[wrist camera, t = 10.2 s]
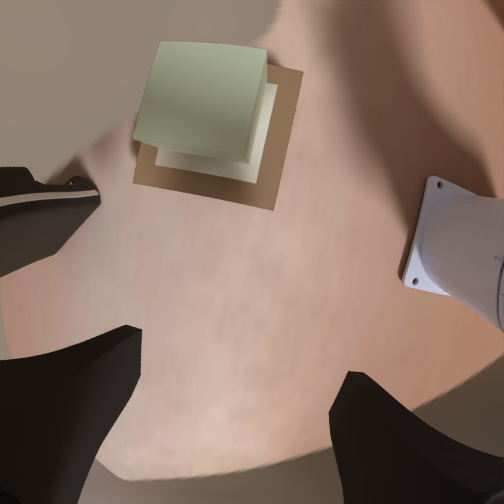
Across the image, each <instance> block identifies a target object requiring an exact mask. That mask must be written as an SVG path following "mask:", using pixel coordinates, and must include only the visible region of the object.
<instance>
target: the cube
mask: <svg viewBox="0 0 504 504" xmlns="http://www.w3.org/2000/svg"><path fill="white" fill-rule="evenodd" d="M266 87H267V50H265V49H259V48H252V47H245V46H237V45H228V44H218V43H205V42H184V41H160V44H159V46H158V49H157V53H156V55H155V58H154V61H153V65H152V68H151V71H150V74H149V77H148V81H147V84H146V88H145V91H144V95H143V99H142V102H141V106H140V110H139V114H138V118H137V122H136V126H135V131H134V135H133V139H134V140H137V141H140V142H143V143H146V144H149V145H152V146H155V147H158V148H161V149H164V150H167V151H172V152H179V153H186V154H193V155H199V156H205V157H211V158H217V159H223V160H228V161H234V162H239V163H244V164H250V160H251V155H252V150H253V146H254V141H255V137H256V132H257V127H258V123H259V118H260V114H261V109H262V105H263V101H264V96H265V92H266Z"/></svg>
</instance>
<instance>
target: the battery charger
mask: <svg viewBox="0 0 504 504" xmlns="http://www.w3.org/2000/svg"><path fill="white" fill-rule="evenodd" d="M100 203H101V200H100V198H99V194H98V193H97V191H96V190H94V189H93V187H92V185H91V184H90V183H89V182H88V181H87V180H86V179H85V178H83V177H80V176H75V177H72V178H71V179H70V180H69V181H68V182H67V183H66V184H65V185H45V184H42V183H40V182H38V181H35V180H34V178H33V176H32V174H31V173H30V171H29V170H28V169H27V168H25V167H0V277H2V276H5V275H7V274H9V273H11V272H13V271H16V270H18V269H20V268H22V267H25V266H27V265H29V264H31V263H34V262H36V261H39V260H41V259H44V258H46V257H49V256H52V255H54V254H56V253H57V252H58V251H59V250H60V248H61V247H62V246H63V245H64V244H65V243H66V242H67V240H68V239H69V238H70V237H71V236H72V235H73V234H74V233H75V231H76V230H77V229H78V228H79V227H80V226H81V225H82V224H83V223H84V221H85V220H86V219H87V218H88V217H89V216H90V215H91V214H92V213H93V212H94V211H95V210H96V209H97V207H98V206H99V205H100Z"/></svg>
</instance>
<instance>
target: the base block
mask: <svg viewBox="0 0 504 504" xmlns="http://www.w3.org/2000/svg"><path fill="white" fill-rule="evenodd" d="M302 77H303V71H298V70H294V69H290V68H285V67H280V66H275V65H270V64H267V87H266V92H265V96H264V101H263V105H262V109H261V114H260V118H259V123H258V127H257V132H256V137H255V141H254V146H253V150H252V155H251V160H250V164H244V163H239V162H234V161H228V160H223V159H217V158H211V157H205V156H199V155H193V154H186V153H179V152H172V151H167V150H164V149H161V148H158V147H155V146H152V145H149V144H146V143H143V142H141V143H140V148H139V153H138V158H137V163H136V168H135V173H134V179H133V183H134V184H140V185H146V186H152V187H157V188H163V189H168V190H174V191H179V192H185V193H190V194H195V195H200V196H206V197H211V198H216V199H221V200H225V201H230V202H235V203H240V204H245V205H249V206H254V207H259V208H263V209H268V210H272V211H274V206H275V202H276V197H277V193H278V188H279V184H280V179H281V175H282V170H283V166H284V161H285V157H286V152H287V147H288V143H289V138H290V134H291V129H292V124H293V120H294V115H295V110H296V106H297V101H298V96H299V91H300V87H301V82H302Z"/></svg>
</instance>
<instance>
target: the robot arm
mask: <svg viewBox="0 0 504 504" xmlns="http://www.w3.org/2000/svg"><path fill="white" fill-rule="evenodd" d="M438 182H439V183H440V187H439V188H438V186H437V183H438ZM414 278H416V281H415V283H412V281H413V279H414ZM402 283H403V284H404V285H405V286H407V287H411V288H415V289H420V290H424V291H429V292H434V293H438V294H443V295H447V296H452V297H454V298H455V299H457V300H458V301H460V302H461V303H463V304H464V305H465V306H467V307H468V308H470V309H471V310H473V311H474V312H476V313H477V314H478V315H480V316H481V317H483V318H484V319H485V320H487V321H488V322H490V323H491V324H492V325H494V326H495V327H496V328H498V329H499V330H501V331H502V332H503V333H504V199H499V198H491V197H483V196H478V195H476V194H474V193H472V192H470V191H468V190H466V189H464V188H462V187H460V186H458V185H455V184H453V183H451V182H449V181H446V180H444V179H442V178H439V177H437V176H429V177H428V179H427V182H426V188H425V193H424V197H423V202H422V207H421V211H420V215H419V220H418V224H417V228H416V232H415V236H414V239H413V243H412V247H411V250H410V254H409V257H408V261H407V264H406V267H405V271H404V274H403V277H402ZM141 343H142V329H139V328H136V327H132V326H129V325H124V326H121V327H118V328H116V329H113V330H111V331H108V332H106V333H104V334H101V335H99V336H96V337H94V338H91V339H89V340H86V341H84V342H81V343H78V344H75V345H72V346H69V347H66V348H63V349H60V350H57V351H54V352H50V353H46V354H42V355H37V356H32V357H27V358H19V359H10V360H0V504H77V503H78V500H79V497H80V494H81V491H82V488H83V485H84V483H85V481H86V478H87V475H88V473H89V470H90V468H91V466H92V463H93V461H94V459H95V457H96V454H97V452H98V450H99V448H100V446H101V444H102V442H103V441H104V439H105V437H106V436H107V434H108V433H109V431H110V429H111V428H112V426H113V425H114V423H115V422H116V420H117V418H118V417H119V415H120V414H121V412H122V411H123V409H124V407H125V406H126V404H127V403H128V401H129V399H130V398H131V396H132V394H133V391H134V389H135V387H136V385H137V382H138V380H139V378H140V376H141ZM329 425H330V435H331V440H332V444H333V449H334V453H335V457H336V462H337V465H338V470H339V474H340V479H341V483H342V488H343V496H344V504H504V458H503V457H498V456H494V455H491V454H487V453H484V452H481V451H478V450H476V449H473V448H471V447H468V446H466V445H464V444H462V443H459V442H457V441H455V440H453V439H451V438H449V437H448V436H446V435H444V434H442V433H441V432H439V431H437V430H436V429H434V428H433V427H431V426H429V425H428V424H426V423H425V422H424V421H422V420H421V419H420V418H418V417H417V416H416V415H414V414H413V413H412V412H410V411H409V410H408V409H407V408H405V407H404V406H403V405H402V404H401V403H399V402H398V401H397V400H396V399H395V398H394V397H392V396H391V395H390V394H389V393H388V392H387V391H386V390H384V389H383V388H382V387H381V386H380V385H379V384H378V383H376V382H375V381H374V380H373V379H372V378H370V377H369V376H368V375H366V374H365V373H363V372H353V371H348V373H347V375H346V377H345V379H344V382H343V384H342V386H341V388H340V390H339V392H338V395H337V397H336V399H335V401H334V403H333V405H332V407H331V409H330V411H329Z"/></svg>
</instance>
